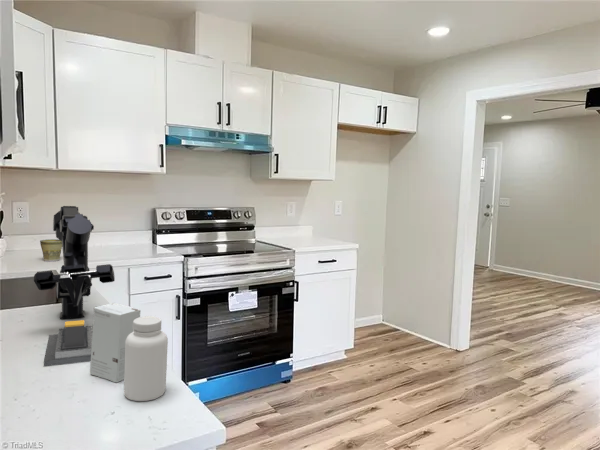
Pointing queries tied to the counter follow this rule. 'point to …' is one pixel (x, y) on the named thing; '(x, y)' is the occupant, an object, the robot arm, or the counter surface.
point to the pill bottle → (145, 360)
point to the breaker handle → (74, 335)
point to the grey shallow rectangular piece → (69, 356)
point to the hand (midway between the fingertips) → (75, 305)
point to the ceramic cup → (51, 249)
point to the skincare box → (111, 339)
